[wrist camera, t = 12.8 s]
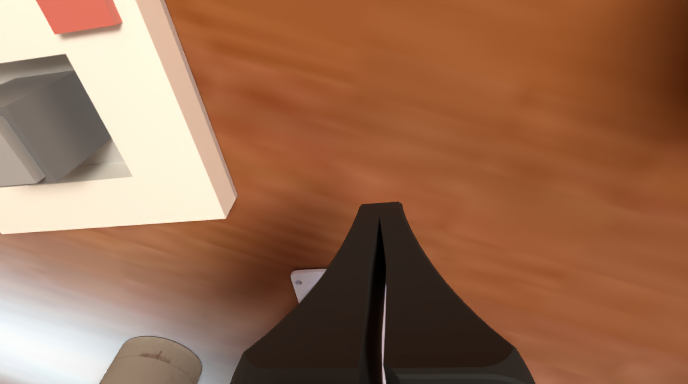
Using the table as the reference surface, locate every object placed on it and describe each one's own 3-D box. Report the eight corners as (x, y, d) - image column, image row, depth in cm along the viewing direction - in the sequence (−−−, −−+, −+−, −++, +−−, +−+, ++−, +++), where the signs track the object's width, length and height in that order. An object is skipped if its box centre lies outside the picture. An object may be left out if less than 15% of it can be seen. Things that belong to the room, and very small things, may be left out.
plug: (114, 135, 23) (48, 189, 18) (55, 142, 24) (-22, 195, 19) (78, 69, 21) (-7, 112, 16) (14, 78, 21) (-85, 121, 17)
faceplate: (237, 195, 25) (222, 224, 23) (28, 211, 28) (-6, 240, 25) (144, -52, 18) (106, -48, 15) (-138, 0, 20) (-210, 11, 17)
